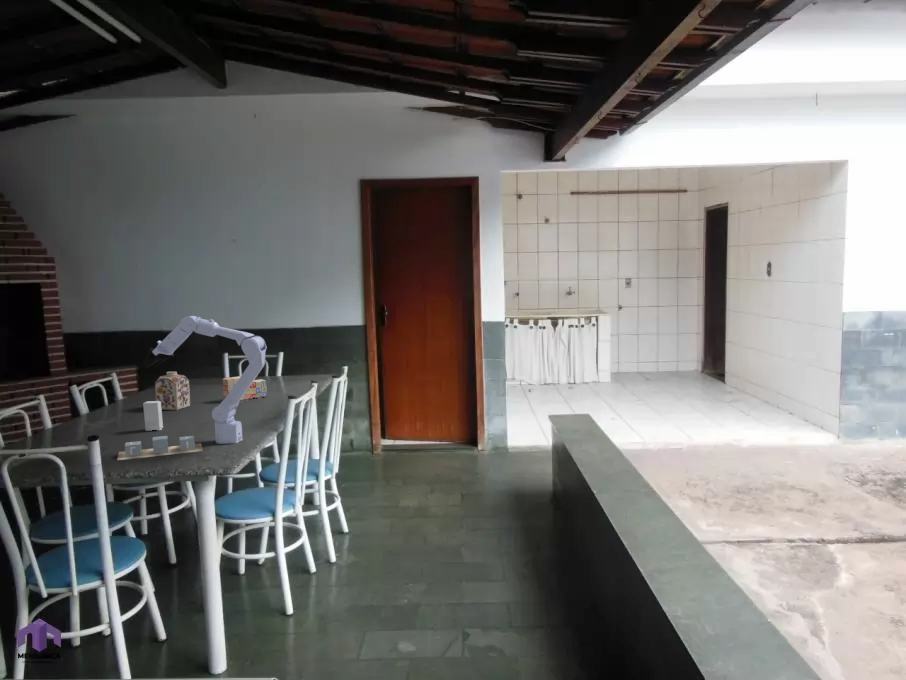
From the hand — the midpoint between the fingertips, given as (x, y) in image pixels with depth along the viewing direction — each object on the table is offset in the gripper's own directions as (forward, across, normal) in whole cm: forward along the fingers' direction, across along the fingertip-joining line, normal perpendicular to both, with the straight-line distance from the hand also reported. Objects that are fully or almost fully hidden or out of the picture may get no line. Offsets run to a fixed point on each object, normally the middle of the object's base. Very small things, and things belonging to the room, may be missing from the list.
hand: (149, 364), depth 250 cm
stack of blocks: (+18, -91, +25) cm, 96 cm away
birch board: (+14, +14, +29) cm, 35 cm away
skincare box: (+30, -24, +15) cm, 41 cm away
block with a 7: (+20, +18, +23) cm, 35 cm away
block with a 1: (+8, +10, +34) cm, 36 cm away
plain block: (+14, +14, +28) cm, 35 cm away
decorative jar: (+39, -70, +6) cm, 80 cm away
